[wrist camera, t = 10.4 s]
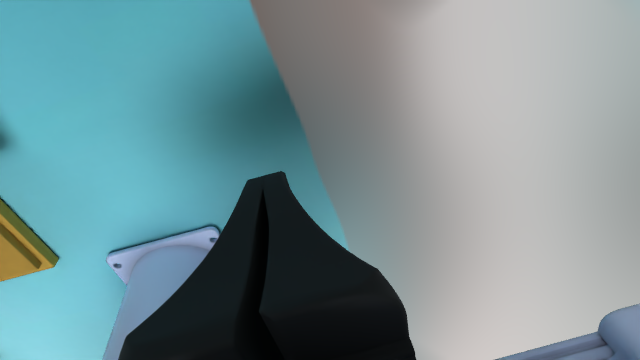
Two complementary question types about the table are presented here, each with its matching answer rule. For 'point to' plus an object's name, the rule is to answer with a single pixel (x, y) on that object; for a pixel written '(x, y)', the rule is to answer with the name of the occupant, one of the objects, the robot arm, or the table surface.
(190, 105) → the table surface
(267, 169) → the table surface
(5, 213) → the yellow flat slab
